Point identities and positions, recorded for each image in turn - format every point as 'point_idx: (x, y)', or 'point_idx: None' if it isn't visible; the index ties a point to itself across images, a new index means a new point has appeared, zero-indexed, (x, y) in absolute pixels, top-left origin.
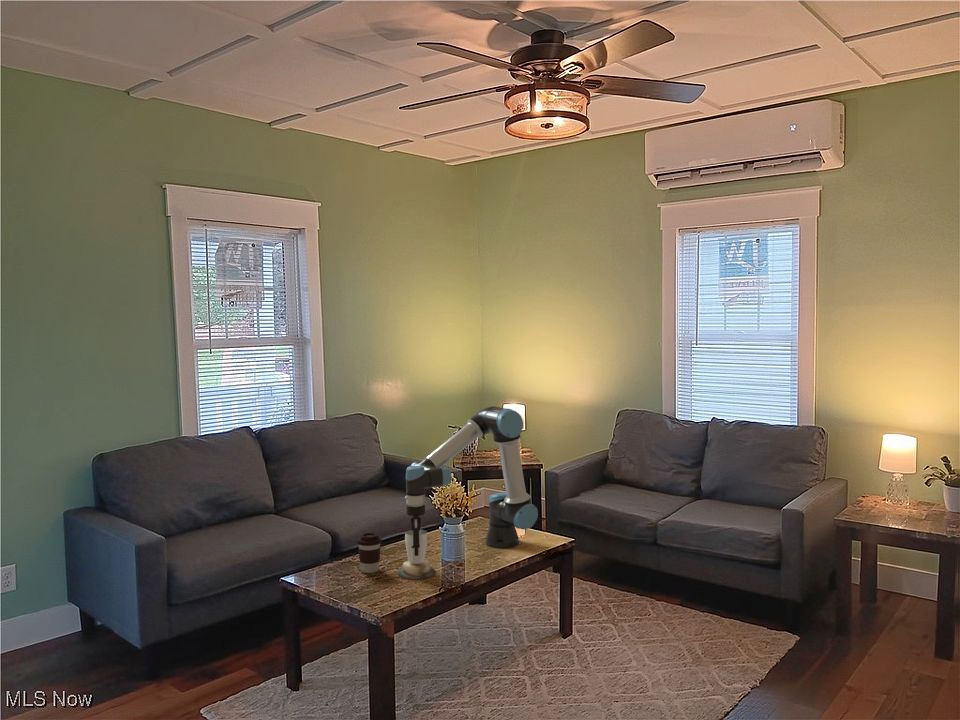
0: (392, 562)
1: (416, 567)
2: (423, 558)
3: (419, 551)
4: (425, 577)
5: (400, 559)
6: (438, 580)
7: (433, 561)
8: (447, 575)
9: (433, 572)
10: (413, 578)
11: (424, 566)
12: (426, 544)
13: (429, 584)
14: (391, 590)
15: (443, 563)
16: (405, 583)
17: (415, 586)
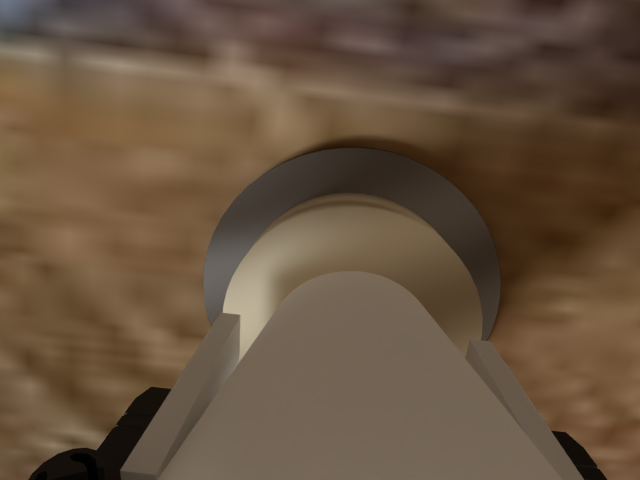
0: (98, 414)
1: (462, 346)
2: (424, 310)
3: (563, 457)
4: (492, 244)
5: (34, 363)
6: (573, 141)
7: (73, 126)
8: (471, 37)
9: (412, 168)
10: (485, 332)
11: (457, 274)
12: (446, 387)
13: (637, 227)
14: (635, 469)
15: (129, 35)
16: (540, 383)
17: (631, 329)
